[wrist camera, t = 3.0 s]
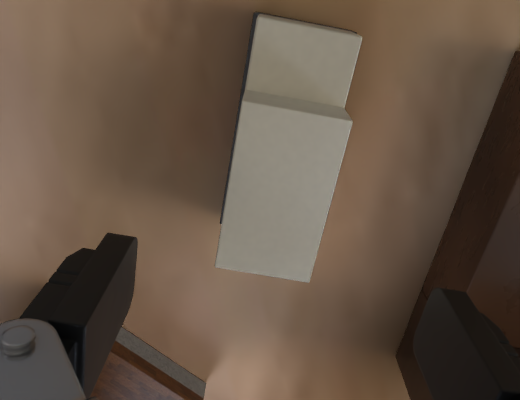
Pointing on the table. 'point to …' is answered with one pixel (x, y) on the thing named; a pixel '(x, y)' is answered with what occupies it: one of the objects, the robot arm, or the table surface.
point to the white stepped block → (286, 146)
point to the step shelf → (481, 234)
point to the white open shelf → (144, 374)
